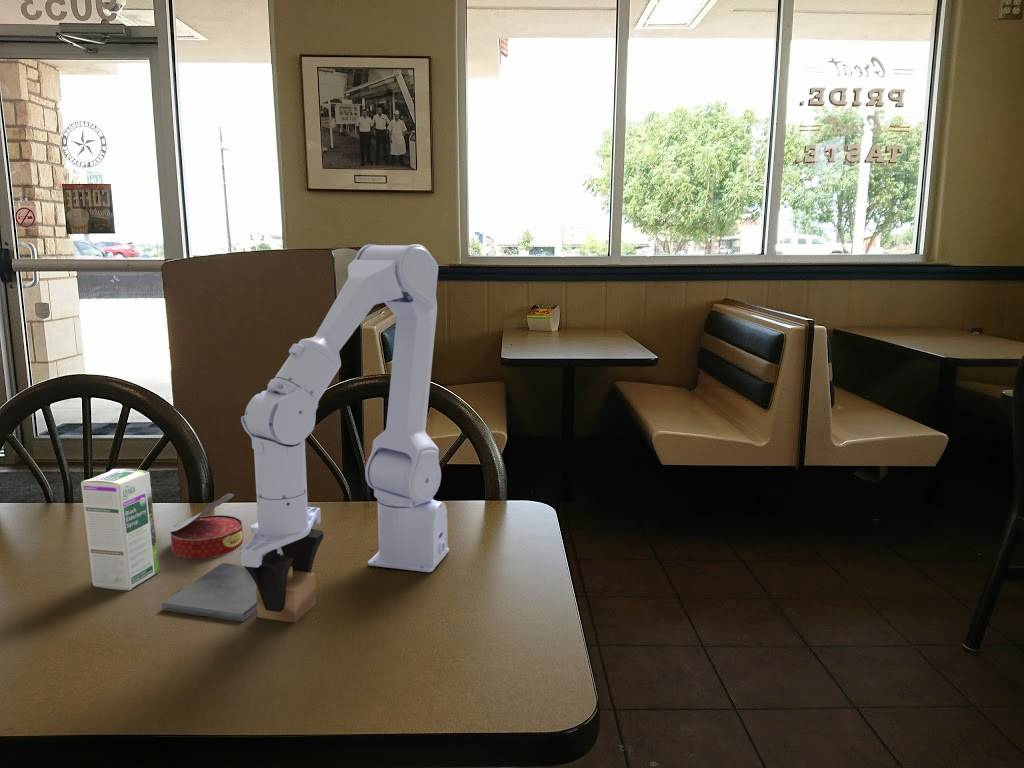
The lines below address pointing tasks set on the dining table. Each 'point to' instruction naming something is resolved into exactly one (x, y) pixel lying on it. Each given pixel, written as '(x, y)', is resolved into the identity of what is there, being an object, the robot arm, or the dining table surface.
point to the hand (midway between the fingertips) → (287, 598)
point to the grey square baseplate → (217, 595)
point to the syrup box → (120, 528)
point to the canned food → (207, 534)
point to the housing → (292, 597)
